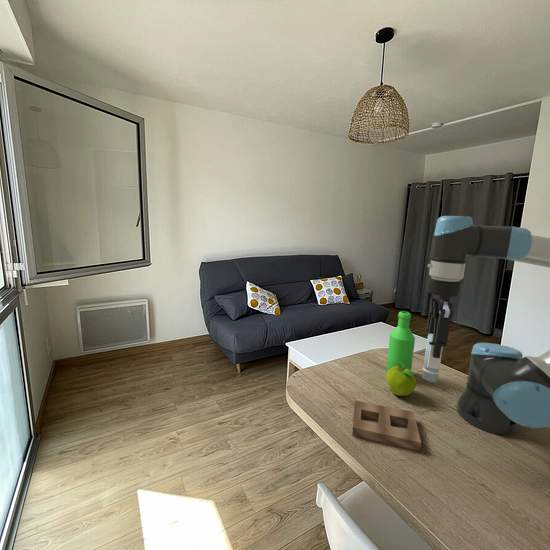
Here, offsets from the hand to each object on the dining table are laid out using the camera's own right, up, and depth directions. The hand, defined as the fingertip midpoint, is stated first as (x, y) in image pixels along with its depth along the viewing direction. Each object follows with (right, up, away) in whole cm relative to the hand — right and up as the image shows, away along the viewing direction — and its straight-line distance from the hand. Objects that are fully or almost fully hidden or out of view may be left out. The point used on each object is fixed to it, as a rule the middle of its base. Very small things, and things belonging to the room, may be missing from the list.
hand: (431, 364), depth 78 cm
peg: (0, -4, +1) cm, 4 cm away
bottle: (+6, -15, +36) cm, 39 cm away
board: (-11, -20, +6) cm, 23 cm away
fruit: (+1, -17, +23) cm, 29 cm away
